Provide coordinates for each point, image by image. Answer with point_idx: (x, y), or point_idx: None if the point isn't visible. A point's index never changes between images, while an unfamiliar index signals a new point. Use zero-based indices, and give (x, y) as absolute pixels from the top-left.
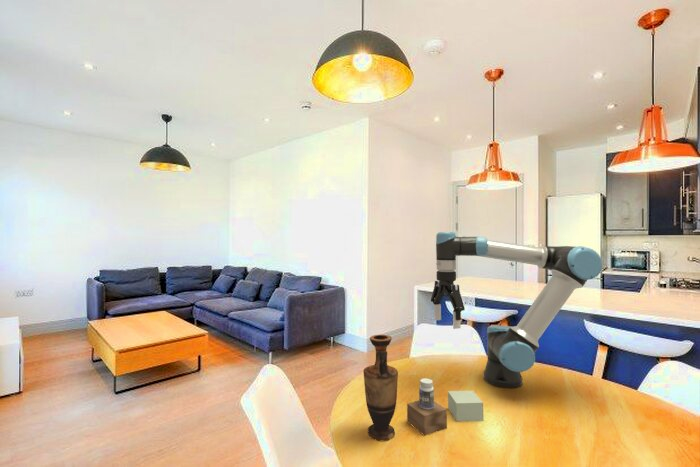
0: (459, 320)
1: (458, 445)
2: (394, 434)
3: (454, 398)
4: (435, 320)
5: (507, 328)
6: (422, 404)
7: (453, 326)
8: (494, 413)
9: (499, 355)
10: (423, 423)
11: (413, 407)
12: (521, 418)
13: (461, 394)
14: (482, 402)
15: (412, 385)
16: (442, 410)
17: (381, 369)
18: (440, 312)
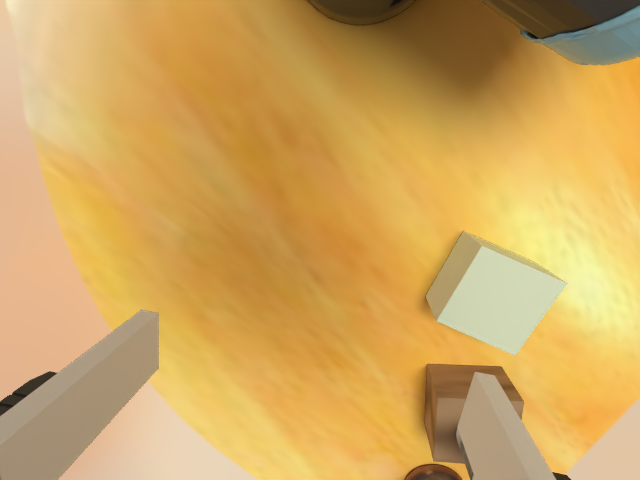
0: (529, 451)
1: (570, 392)
2: (458, 476)
3: (487, 339)
4: (158, 367)
5: None
6: None
7: (467, 443)
8: (527, 199)
9: (560, 46)
10: None
11: (461, 461)
12: (602, 146)
13: (480, 301)
14: (564, 284)
15: (255, 292)
16: (521, 414)
17: None
18: (103, 366)
